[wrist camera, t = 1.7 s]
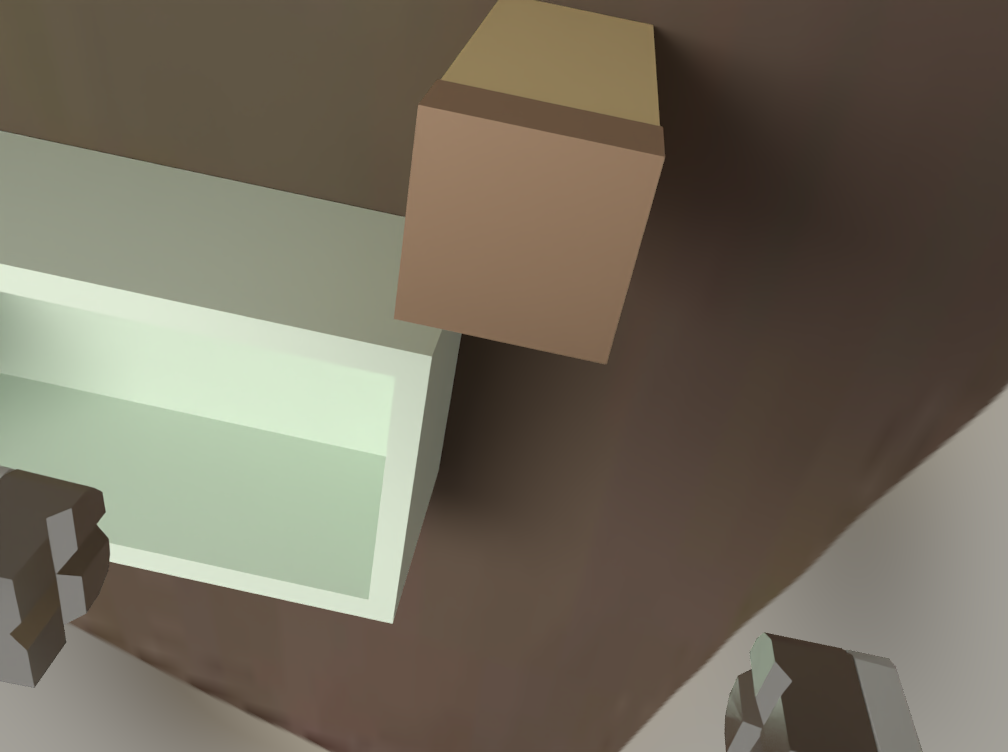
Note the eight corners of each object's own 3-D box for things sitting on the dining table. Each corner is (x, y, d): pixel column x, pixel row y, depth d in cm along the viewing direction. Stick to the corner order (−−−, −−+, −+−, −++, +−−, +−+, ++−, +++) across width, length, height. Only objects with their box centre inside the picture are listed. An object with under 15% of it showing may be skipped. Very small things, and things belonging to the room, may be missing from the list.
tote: (-233, 80, 34) (-483, 159, 26) (478, 232, 33) (432, 356, 26) (-155, 341, 40) (-335, 463, 33) (438, 470, 40) (392, 623, 32)
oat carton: (502, -9, 28) (418, 104, 18) (654, 23, 28) (665, 156, 18) (478, 142, 31) (393, 318, 20) (617, 171, 31) (606, 364, 20)
